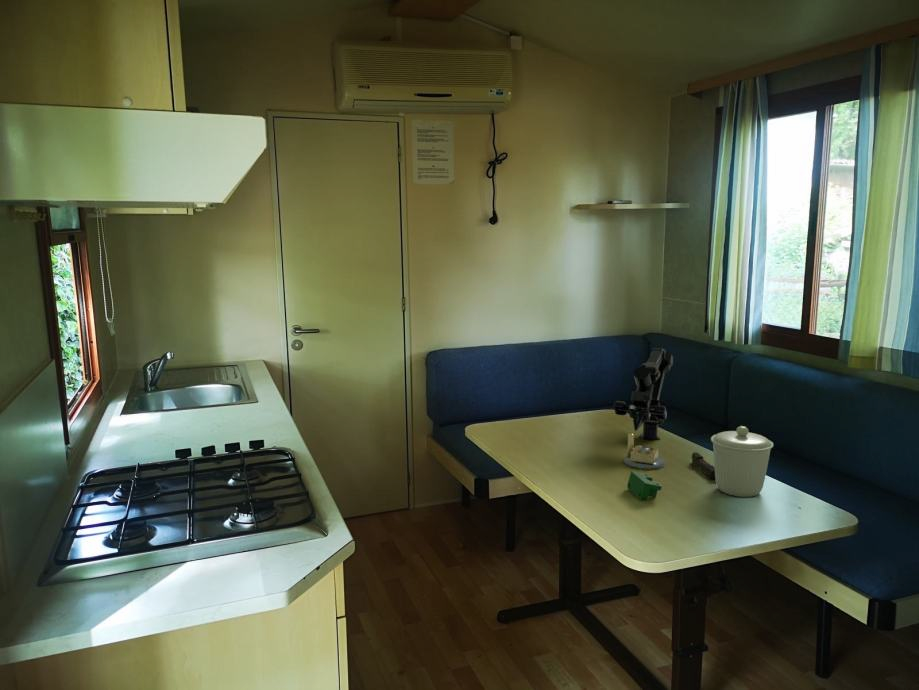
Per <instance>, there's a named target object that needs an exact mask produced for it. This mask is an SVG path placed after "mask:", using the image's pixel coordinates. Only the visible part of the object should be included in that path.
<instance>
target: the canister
mask: <svg viewBox="0 0 919 690" xmlns="http://www.w3.org/2000/svg"><path fill="white" fill-rule="evenodd" d="M710 440H711V442H712V447H713V466H714V468H715V479H716V481H715V484H716V486H717V488H718V489H719V491H721V492H722V493H724V494H727V495H729V496H734V497H739V498H750V497H755V496H757V495H760V493H761V492H762V490H763V487H764V485H765V484H764V483H765V479H766V476H767V470H768V467H769V466H768V465H769V460H770V454H771V450H772V448H774V442H773V441H771V440H770V439H768V438H767V437H765V436H763V435H761V434H757V433H754V432H749V428H747V426H743V425H740V426H738V427H736V430H727V431H722V432H718V433H716V434H713V435H712V436H711V437H710Z"/></svg>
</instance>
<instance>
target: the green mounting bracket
mask: <svg viewBox="0 0 919 690" xmlns="http://www.w3.org/2000/svg"><path fill="white" fill-rule="evenodd" d="M626 486H627V489H628V491H630V492H631V493H632V495H634V496H635V497H636V498H637V499H638V500H641V501H648V500H649V497H650V498H657V495H658V491H662V487H663V485H662V484H661V483H659V482H656V481H655V482H654V481H653V477H652V476H651V475H649V474H647V473H641V472H637V471H630V474H629V478H628V481H627V485H626Z"/></svg>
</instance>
